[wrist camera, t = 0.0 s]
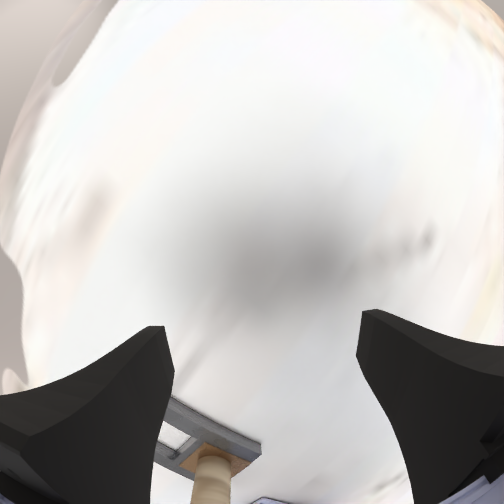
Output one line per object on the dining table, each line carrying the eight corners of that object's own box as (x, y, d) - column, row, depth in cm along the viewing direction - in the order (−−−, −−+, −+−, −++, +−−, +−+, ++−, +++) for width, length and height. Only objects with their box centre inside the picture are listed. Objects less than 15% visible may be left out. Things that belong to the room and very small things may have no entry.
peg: (219, 478, 20) (216, 522, 14) (191, 466, 20) (182, 511, 14) (238, 464, 20) (238, 512, 14) (208, 451, 19) (202, 500, 13)
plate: (215, 479, 22) (214, 489, 20) (119, 429, 21) (114, 438, 19) (260, 444, 21) (261, 455, 20) (152, 384, 20) (147, 394, 19)
